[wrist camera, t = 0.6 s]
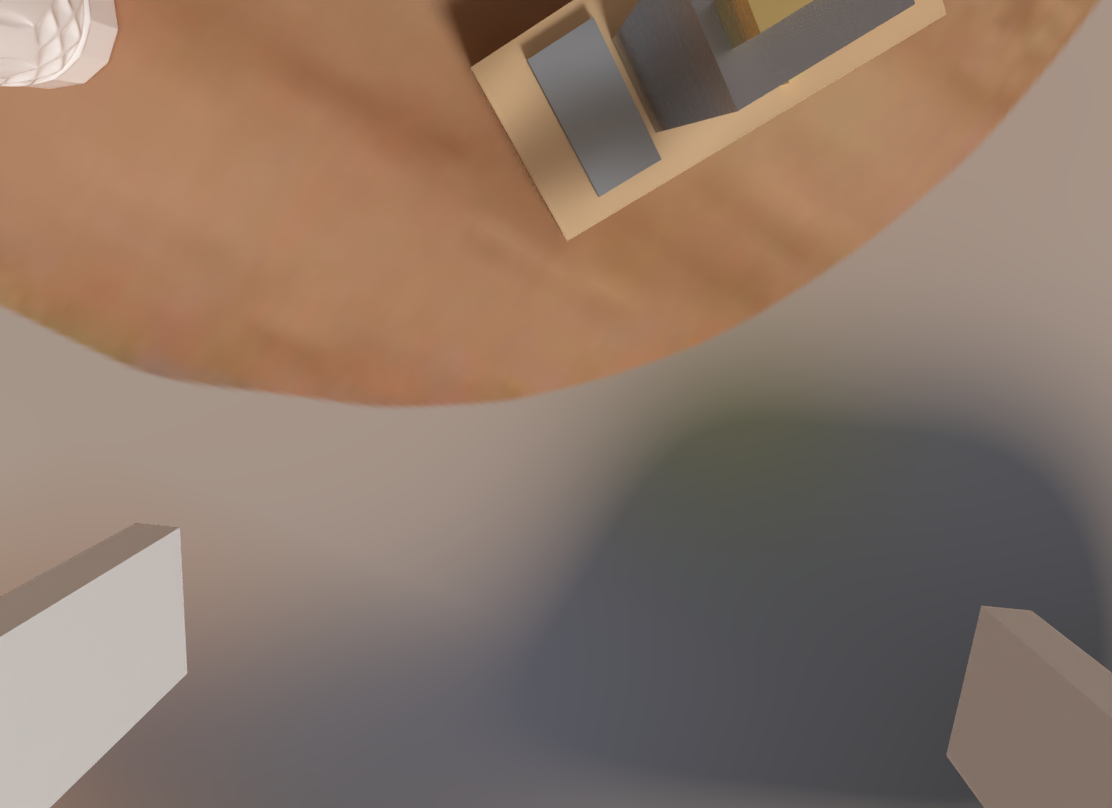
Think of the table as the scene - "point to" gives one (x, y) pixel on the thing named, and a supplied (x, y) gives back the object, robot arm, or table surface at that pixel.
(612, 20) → the body
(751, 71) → the grey metal pillar
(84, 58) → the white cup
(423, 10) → the table surface
